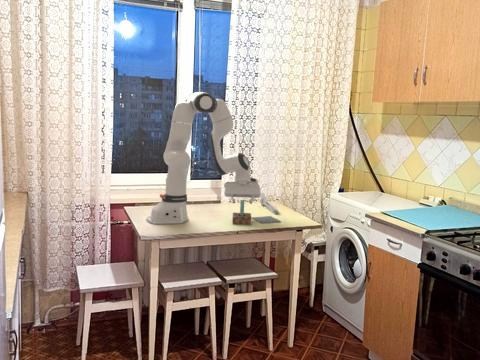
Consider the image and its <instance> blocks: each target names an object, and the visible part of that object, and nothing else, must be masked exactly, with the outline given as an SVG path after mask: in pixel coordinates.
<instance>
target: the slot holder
mask: <svg viewBox="0 0 480 360" xmlns="http://www.w3.org/2000/svg"><path fill="white" fill-rule="evenodd" d="M232 225H244V226H245V225H252V213H251V212H244V216H240V212H232Z"/></svg>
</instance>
